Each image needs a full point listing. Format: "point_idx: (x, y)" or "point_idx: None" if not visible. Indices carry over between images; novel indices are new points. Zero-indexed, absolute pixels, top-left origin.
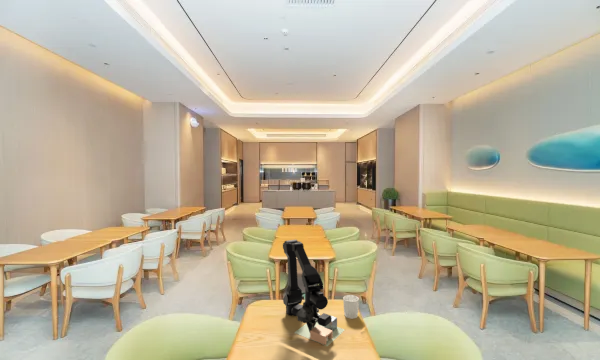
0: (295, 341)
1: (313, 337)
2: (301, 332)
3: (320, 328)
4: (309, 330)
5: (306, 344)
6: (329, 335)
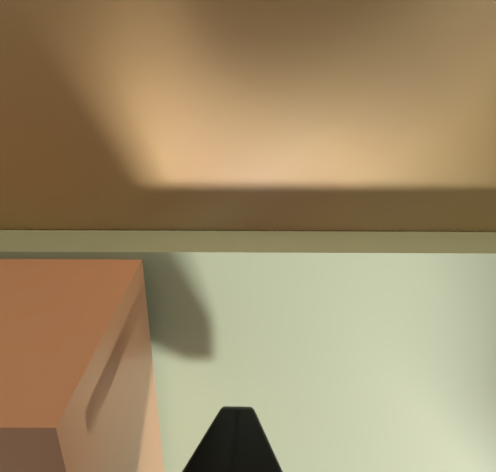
0: (464, 16)
1: (8, 294)
2: (478, 347)
3: None
4: (251, 455)
5: (150, 83)
6: None
